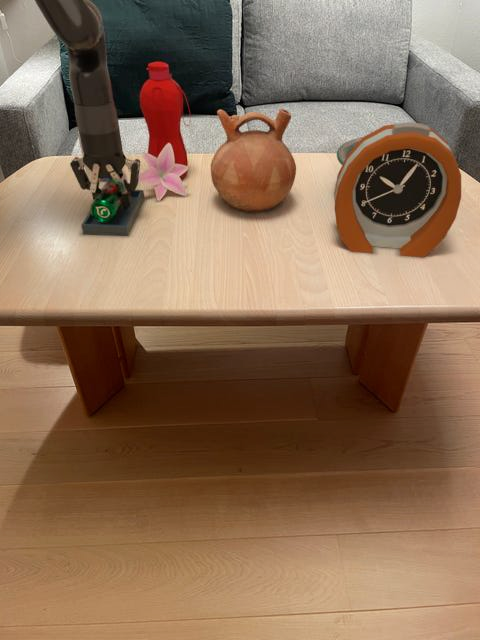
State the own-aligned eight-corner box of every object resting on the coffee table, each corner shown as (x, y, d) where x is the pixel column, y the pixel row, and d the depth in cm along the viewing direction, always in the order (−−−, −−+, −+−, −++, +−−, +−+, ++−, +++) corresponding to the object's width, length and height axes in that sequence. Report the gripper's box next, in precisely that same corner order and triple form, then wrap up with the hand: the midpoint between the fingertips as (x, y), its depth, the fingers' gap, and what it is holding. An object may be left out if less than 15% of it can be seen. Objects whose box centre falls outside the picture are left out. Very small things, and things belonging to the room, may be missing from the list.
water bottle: (192, 183, 113) (184, 69, 96) (147, 182, 113) (132, 68, 97) (196, 167, 120) (190, 58, 103) (153, 166, 120) (141, 57, 104)
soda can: (119, 210, 92) (133, 184, 101) (95, 196, 90) (111, 171, 99) (108, 229, 95) (123, 201, 104) (85, 215, 93) (102, 189, 102)
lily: (130, 203, 107) (136, 175, 99) (136, 164, 112) (142, 135, 104) (181, 215, 111) (191, 189, 103) (184, 177, 116) (194, 149, 108)
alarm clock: (329, 249, 92) (347, 132, 77) (329, 224, 99) (346, 112, 84) (446, 259, 89) (488, 140, 74) (437, 232, 97) (474, 119, 82)
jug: (211, 222, 99) (207, 125, 86) (212, 184, 113) (209, 95, 99) (297, 220, 100) (307, 125, 87) (288, 183, 113) (295, 95, 100)
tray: (127, 235, 95) (126, 226, 94) (83, 234, 95) (81, 225, 94) (144, 198, 107) (143, 190, 106) (105, 197, 107) (103, 188, 106)
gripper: (140, 120, 91) (150, 200, 102) (67, 118, 92) (85, 198, 103) (131, 134, 85) (143, 217, 97) (54, 131, 86) (74, 214, 97)
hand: (113, 207), depth 100 cm, fingers closed on soda can, 5 cm apart
